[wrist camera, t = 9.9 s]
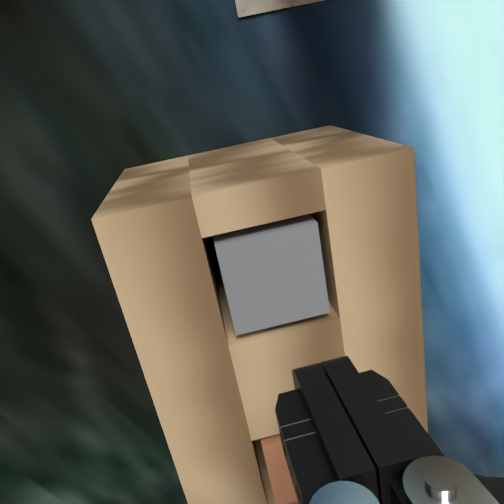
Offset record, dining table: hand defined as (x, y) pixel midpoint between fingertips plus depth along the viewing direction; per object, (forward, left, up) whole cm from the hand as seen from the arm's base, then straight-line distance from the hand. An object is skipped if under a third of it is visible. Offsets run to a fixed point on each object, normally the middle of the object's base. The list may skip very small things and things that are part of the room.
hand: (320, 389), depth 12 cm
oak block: (0, -5, -16) cm, 17 cm away
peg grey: (0, 0, -14) cm, 14 cm away
